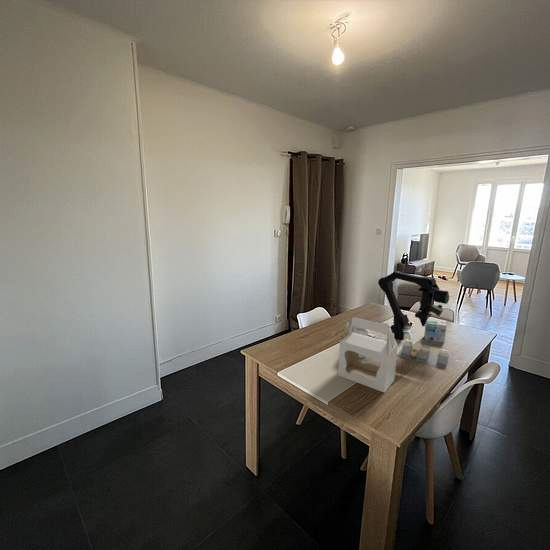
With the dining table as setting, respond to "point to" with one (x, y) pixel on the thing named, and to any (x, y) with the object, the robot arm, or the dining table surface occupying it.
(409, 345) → the knob
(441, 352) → the knob
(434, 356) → the panel
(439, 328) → the light bulb box
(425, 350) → the knob mid
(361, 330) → the milk carton
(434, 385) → the dining table surface
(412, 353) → the knob
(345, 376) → the gable box
